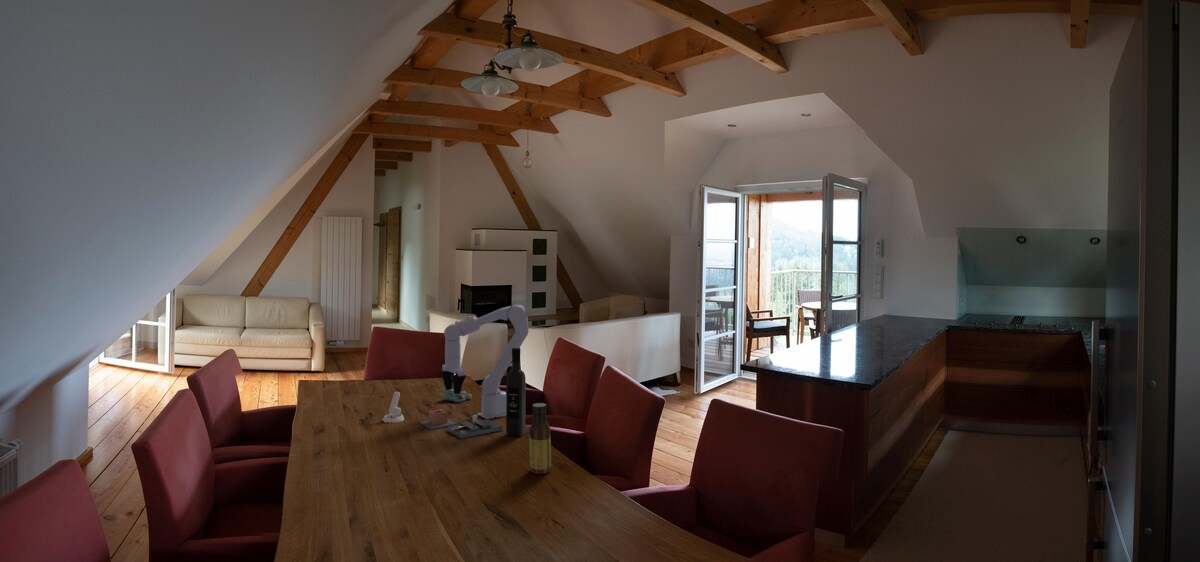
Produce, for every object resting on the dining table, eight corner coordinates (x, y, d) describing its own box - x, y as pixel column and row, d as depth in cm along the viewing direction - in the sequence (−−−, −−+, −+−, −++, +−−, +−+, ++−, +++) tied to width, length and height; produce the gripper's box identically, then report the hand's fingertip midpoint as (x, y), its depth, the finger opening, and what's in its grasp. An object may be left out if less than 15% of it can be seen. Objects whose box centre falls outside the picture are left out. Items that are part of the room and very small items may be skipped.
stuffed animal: (474, 389, 266) (445, 385, 262) (471, 406, 266) (441, 402, 262) (472, 383, 276) (444, 380, 272) (469, 400, 276) (440, 396, 273)
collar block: (441, 419, 237) (441, 409, 237) (447, 422, 233) (447, 412, 233) (428, 422, 234) (428, 411, 234) (434, 425, 230) (434, 414, 230)
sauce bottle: (540, 465, 192) (540, 400, 191) (555, 470, 188) (556, 403, 187) (524, 471, 187) (524, 404, 186) (539, 477, 183) (540, 408, 182)
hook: (409, 400, 247) (410, 393, 242) (401, 430, 241) (402, 424, 235) (389, 396, 246) (389, 390, 240) (381, 426, 239) (381, 420, 234)
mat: (445, 418, 241) (445, 417, 241) (457, 425, 233) (457, 423, 233) (419, 423, 235) (419, 421, 235) (430, 429, 227) (430, 428, 227)
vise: (487, 423, 235) (487, 408, 235) (502, 430, 227) (502, 415, 226) (444, 431, 225) (444, 415, 225) (458, 439, 217) (458, 423, 216)
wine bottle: (520, 437, 219) (521, 350, 218) (505, 436, 221) (505, 349, 219) (526, 432, 225) (526, 347, 223) (510, 431, 226) (511, 346, 224)
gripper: (434, 354, 247) (435, 389, 247) (451, 360, 235) (451, 396, 236) (452, 352, 251) (452, 386, 252) (468, 358, 239) (468, 394, 240)
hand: (452, 391), depth 244 cm, fingers open, 7 cm apart
